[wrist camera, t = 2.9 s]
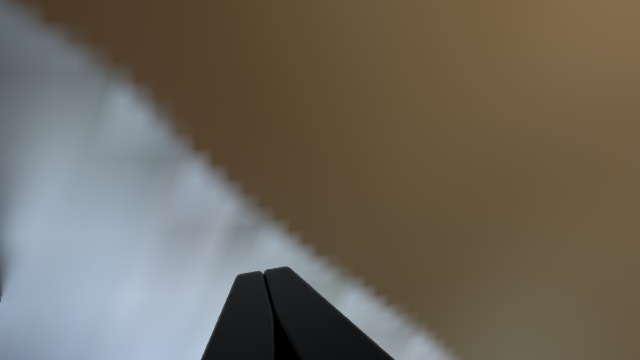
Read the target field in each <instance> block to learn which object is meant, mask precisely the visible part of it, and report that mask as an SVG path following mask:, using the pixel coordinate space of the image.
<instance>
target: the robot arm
mask: <svg viewBox="0 0 640 360" xmlns="http://www.w3.org/2000/svg"><path fill="white" fill-rule="evenodd" d="M201 360H395V359H393V358H392V357H391V356H390V355H389V354H388V353H387V352H385V351H384V350H383V349H382V348H381V347H380V346H379V345H377V344H376V343H375V342H374V341H373V340H372V339H371V338H369V337H368V336H367V335H366V334H365V333H364V332H363V331H361V330H360V329H359V328H358V327H357V326H356V325H355V324H353V323H352V322H351V321H350V320H349V319H348V318H347V317H345V316H344V315H343V314H342V313H341V312H340V311H339V310H337V309H336V308H335V307H334V306H333V305H332V304H331V303H329V302H328V301H327V300H326V299H325V298H324V297H323V296H322V295H320V294H319V293H318V292H317V291H316V290H315V289H314V288H312V287H311V286H310V285H309V284H308V283H307V282H306V281H304V280H303V279H302V278H301V277H300V276H299V275H298V274H296V273H295V272H294V271H293V270H292V269H291V268H289V267H279V268H273V269H267V270H265V271H264V275H263V273H262V272H260V271H255V272H249V273H243V274H239V275H238V276H237V277H236V279H235V281H234V283H233V285H232V288H231V290H230V292H229V295H228V297H227V300H226V302H225V304H224V307H223V309H222V311H221V314H220V316H219V318H218V321H217V323H216V325H215V328H214V330H213V332H212V335H211V337H210V339H209V342H208V344H207V346H206V349H205V351H204V353H203V356H202V358H201Z"/></svg>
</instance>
